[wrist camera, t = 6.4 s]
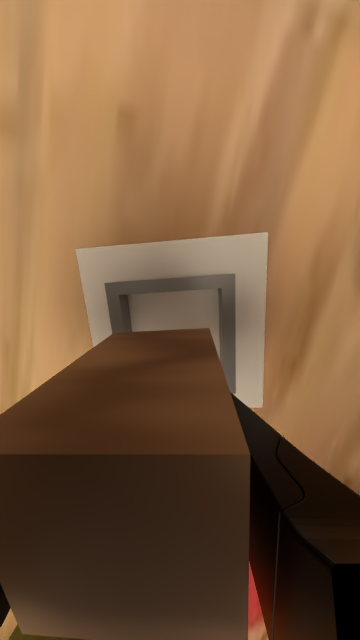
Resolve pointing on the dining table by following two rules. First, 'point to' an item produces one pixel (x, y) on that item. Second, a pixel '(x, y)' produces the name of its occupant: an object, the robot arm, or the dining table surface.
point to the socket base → (186, 297)
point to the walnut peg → (128, 496)
